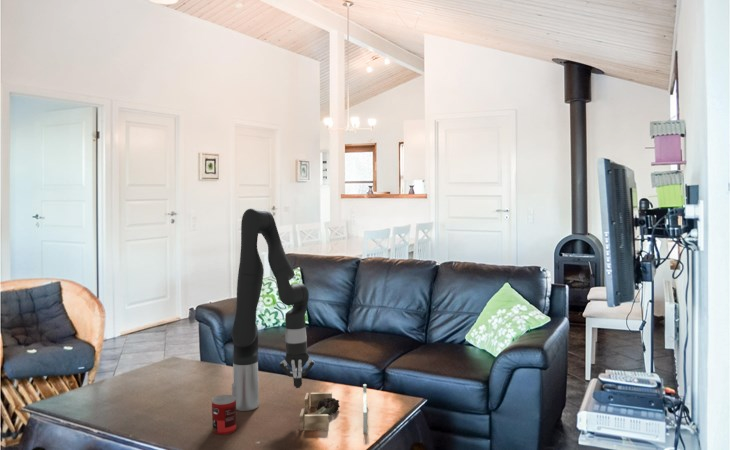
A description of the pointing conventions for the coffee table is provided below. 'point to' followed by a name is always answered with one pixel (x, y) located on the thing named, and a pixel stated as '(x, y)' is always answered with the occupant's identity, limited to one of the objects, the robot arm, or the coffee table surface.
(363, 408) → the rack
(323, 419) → the socket block
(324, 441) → the coffee table surface
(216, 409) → the canned food
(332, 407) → the dark elongated piece
